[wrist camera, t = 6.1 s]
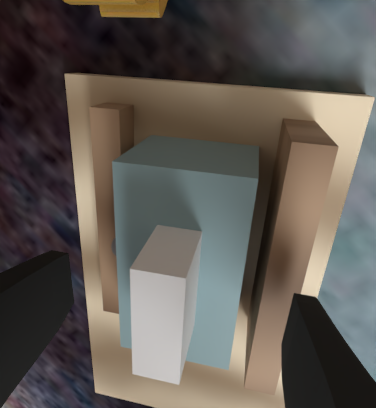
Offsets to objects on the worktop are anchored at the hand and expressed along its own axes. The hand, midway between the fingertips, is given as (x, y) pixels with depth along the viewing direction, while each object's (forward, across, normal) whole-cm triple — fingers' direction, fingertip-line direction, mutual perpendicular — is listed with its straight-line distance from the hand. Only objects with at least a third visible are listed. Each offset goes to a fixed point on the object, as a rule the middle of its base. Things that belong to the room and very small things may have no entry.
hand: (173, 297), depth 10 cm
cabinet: (+5, 0, 0) cm, 5 cm away
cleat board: (+6, 0, +4) cm, 7 cm away
